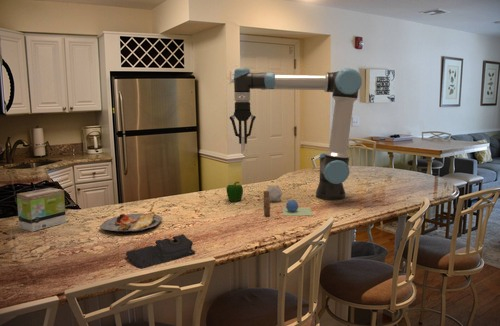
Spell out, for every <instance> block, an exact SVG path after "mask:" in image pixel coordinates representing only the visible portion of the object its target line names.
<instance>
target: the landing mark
mask: <svg viewBox="0 0 500 326" xmlns="http://www.w3.org/2000/svg"><path fill="white" fill-rule="evenodd" d="M281 210H282V212H283V216H284V217H292V216H293V217H299V216H300V217H309V216H310V217H311V216H314V214H313V212H312V208H311V207H308V206H307V207H306V206H305V207H304V206H303V207H302V206H301V207H299V206H298V209H297V210H296V211H295V212H290V211H288V210H287V208H286V207H282V209H281Z"/></svg>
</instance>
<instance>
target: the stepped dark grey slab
mask: <svg viewBox="0 0 500 326" xmlns="http://www.w3.org/2000/svg"><path fill="white" fill-rule="evenodd" d="M154 244H155V245H147V246H145V247H141V248H137V249H135V248H134V249H131V250H127V251H126V252H125V256H126V257H127V258H128V260H129V261H131V264H133V265H134V266H135V267H136V268H139V269H141V270H143V269H146V268H151V267H153V266H158V265H161V264H165V263H166V264H167V263H168V262H169V263H170V262H172V261H176V260H180V259H183V258H187V257H191V256H194V255H196V251H195V250H193V249H192V247H193V244H194V243H193V241H192V240H191V239H190V238H188V237H187V236H186V235H185V234H183V233H181V234H179V235H174V236H172V239H170V238H167V237H165V238H164V239H157V240H156V241H155V242H154Z"/></svg>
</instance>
